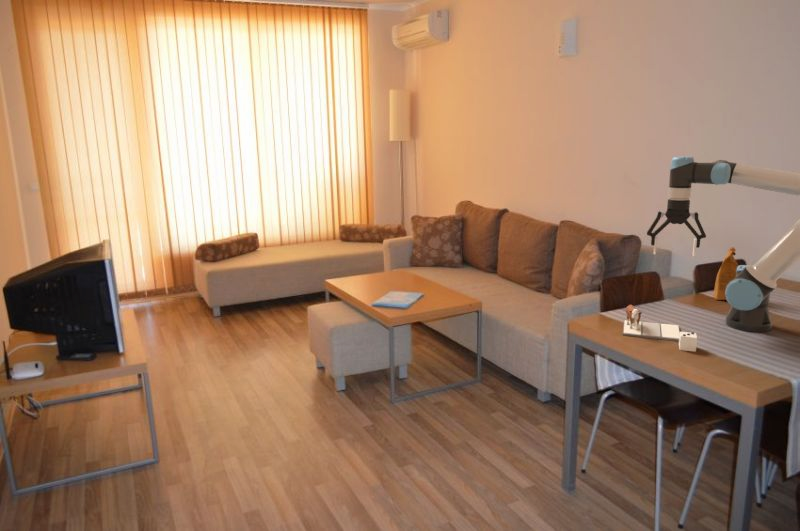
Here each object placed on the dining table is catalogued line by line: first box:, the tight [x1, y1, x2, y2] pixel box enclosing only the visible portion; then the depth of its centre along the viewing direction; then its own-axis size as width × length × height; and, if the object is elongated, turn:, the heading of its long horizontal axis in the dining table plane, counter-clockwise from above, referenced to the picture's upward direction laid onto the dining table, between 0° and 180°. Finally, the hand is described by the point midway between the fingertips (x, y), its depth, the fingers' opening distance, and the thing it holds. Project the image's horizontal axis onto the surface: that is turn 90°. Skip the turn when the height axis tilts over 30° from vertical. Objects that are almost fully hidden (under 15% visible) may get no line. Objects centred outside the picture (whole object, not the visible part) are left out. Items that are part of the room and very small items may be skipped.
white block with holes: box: [678, 331, 698, 353], centre depth 207 cm, size 5×5×6 cm
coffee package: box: [713, 246, 739, 301], centre depth 263 cm, size 10×12×22 cm
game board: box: [622, 319, 681, 342], centre depth 225 cm, size 20×16×1 cm
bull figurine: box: [625, 304, 643, 330], centre depth 226 cm, size 4×13×8 cm, turn 167°
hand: (674, 255), depth 229 cm, fingers open, 13 cm apart
